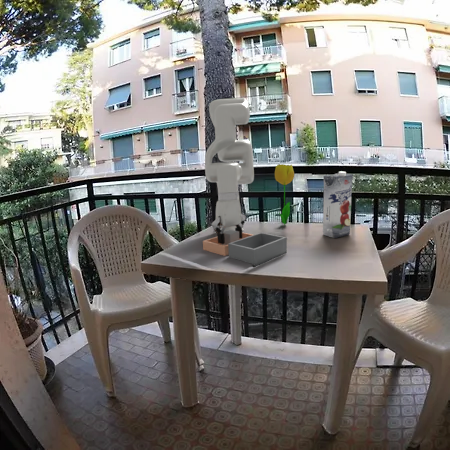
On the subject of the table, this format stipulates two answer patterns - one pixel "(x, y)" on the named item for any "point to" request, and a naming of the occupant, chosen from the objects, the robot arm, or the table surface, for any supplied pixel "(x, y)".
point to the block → (230, 236)
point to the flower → (284, 176)
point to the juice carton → (337, 204)
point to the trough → (219, 245)
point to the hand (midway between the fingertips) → (230, 240)
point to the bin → (258, 248)
